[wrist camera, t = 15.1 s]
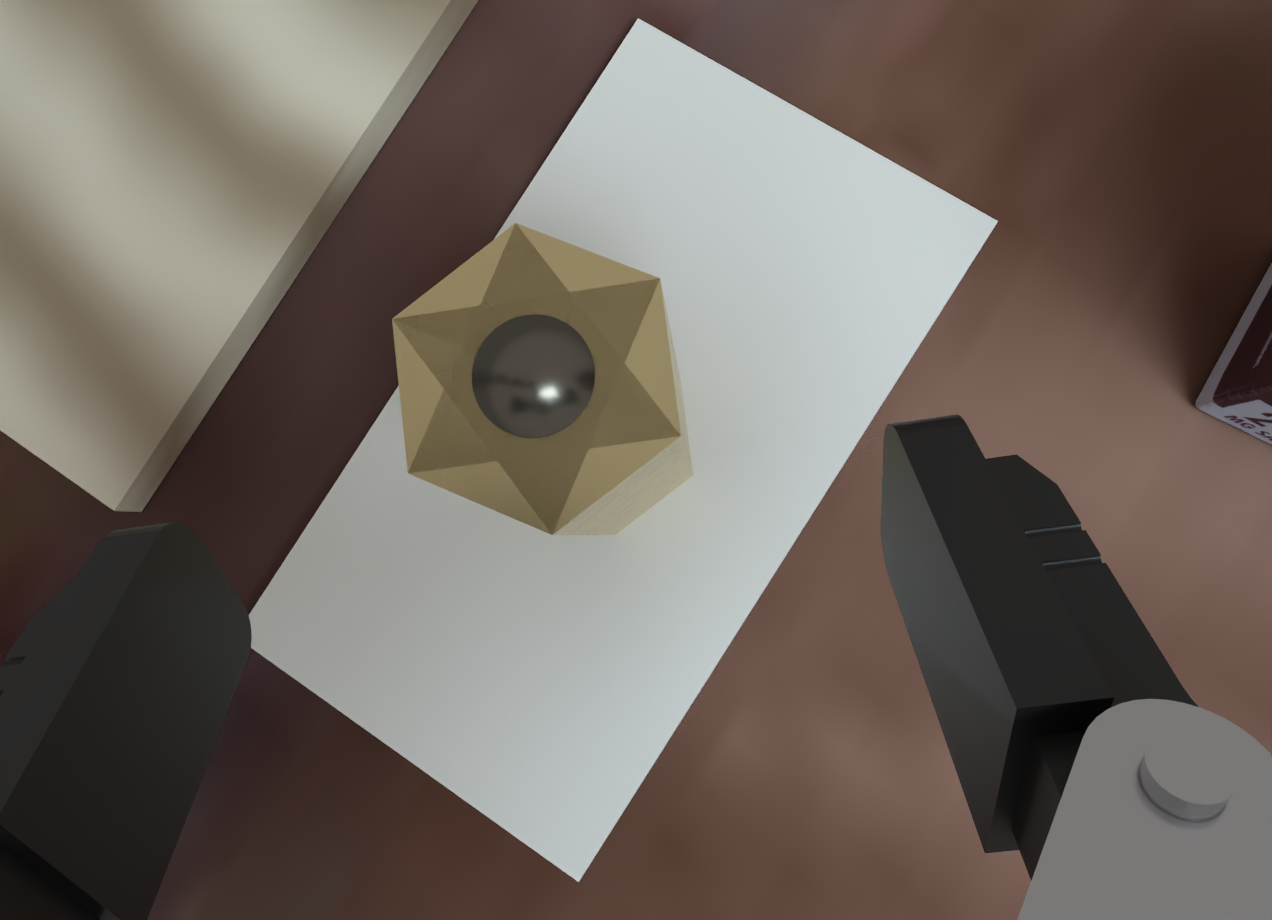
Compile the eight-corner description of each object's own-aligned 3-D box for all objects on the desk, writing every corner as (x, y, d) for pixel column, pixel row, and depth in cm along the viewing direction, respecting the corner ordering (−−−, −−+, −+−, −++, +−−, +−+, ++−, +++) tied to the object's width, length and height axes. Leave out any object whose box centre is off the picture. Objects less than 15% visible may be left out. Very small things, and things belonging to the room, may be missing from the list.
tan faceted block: (576, 564, 20) (487, 584, 12) (476, 431, 21) (328, 365, 13) (732, 445, 20) (746, 385, 12) (629, 313, 21) (577, 173, 13)
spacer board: (141, 512, 22) (114, 510, 21) (-358, 160, 24) (-404, 144, 23) (572, -142, 22) (565, -174, 21) (45, -428, 24) (17, -469, 23)
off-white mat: (581, 875, 20) (578, 882, 20) (243, 634, 21) (235, 636, 21) (992, 227, 20) (998, 221, 20) (639, 27, 22) (638, 18, 21)
